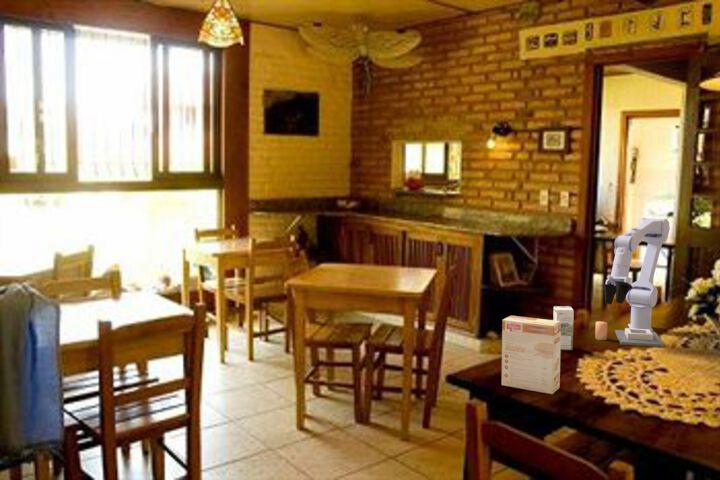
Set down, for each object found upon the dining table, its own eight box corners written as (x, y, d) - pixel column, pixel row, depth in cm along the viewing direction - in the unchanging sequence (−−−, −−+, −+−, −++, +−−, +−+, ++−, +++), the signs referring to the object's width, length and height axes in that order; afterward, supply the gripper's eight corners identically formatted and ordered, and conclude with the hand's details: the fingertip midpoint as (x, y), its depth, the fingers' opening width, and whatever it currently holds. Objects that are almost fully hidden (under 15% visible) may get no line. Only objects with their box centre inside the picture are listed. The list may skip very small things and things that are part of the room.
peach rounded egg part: (594, 337, 238) (595, 321, 237) (606, 337, 236) (606, 321, 236) (595, 339, 234) (596, 323, 233) (607, 340, 233) (607, 324, 232)
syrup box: (568, 346, 225) (570, 305, 224) (572, 350, 219) (573, 309, 218) (552, 345, 226) (553, 305, 224) (555, 350, 220) (556, 309, 218)
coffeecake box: (560, 387, 182) (561, 320, 180) (552, 395, 176) (554, 325, 174) (509, 378, 190) (510, 314, 188) (500, 385, 184) (501, 319, 182)
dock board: (615, 332, 244) (615, 324, 244) (655, 334, 240) (655, 326, 240) (620, 344, 227) (621, 336, 226) (663, 347, 223) (664, 338, 223)
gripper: (601, 266, 240) (593, 301, 238) (621, 262, 226) (613, 299, 223) (618, 271, 240) (611, 306, 238) (639, 267, 226) (632, 305, 224)
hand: (613, 303), depth 231 cm, fingers open, 7 cm apart
